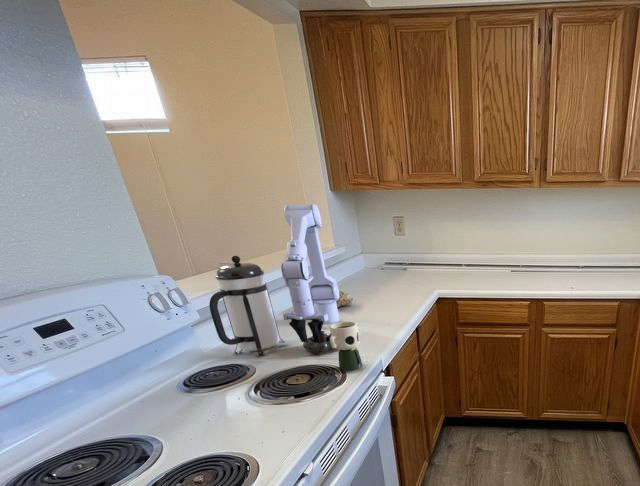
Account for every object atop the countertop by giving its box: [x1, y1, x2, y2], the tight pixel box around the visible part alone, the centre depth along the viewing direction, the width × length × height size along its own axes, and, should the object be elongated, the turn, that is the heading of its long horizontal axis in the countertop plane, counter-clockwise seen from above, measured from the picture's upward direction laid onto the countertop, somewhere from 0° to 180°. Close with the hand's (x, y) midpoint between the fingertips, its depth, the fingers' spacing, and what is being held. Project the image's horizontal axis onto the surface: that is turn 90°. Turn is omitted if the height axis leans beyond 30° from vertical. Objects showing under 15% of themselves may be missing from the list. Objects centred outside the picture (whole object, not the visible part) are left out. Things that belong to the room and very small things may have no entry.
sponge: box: [312, 290, 354, 308], centre depth 180 cm, size 13×8×20 cm
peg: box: [310, 330, 339, 356], centre depth 134 cm, size 8×8×6 cm
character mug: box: [329, 320, 363, 372], centre depth 117 cm, size 11×7×13 cm, turn 157°
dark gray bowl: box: [302, 332, 335, 353], centre depth 134 cm, size 12×12×3 cm
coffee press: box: [209, 255, 285, 358], centre depth 129 cm, size 17×16×30 cm
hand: (311, 341), depth 135 cm, fingers open, 4 cm apart
